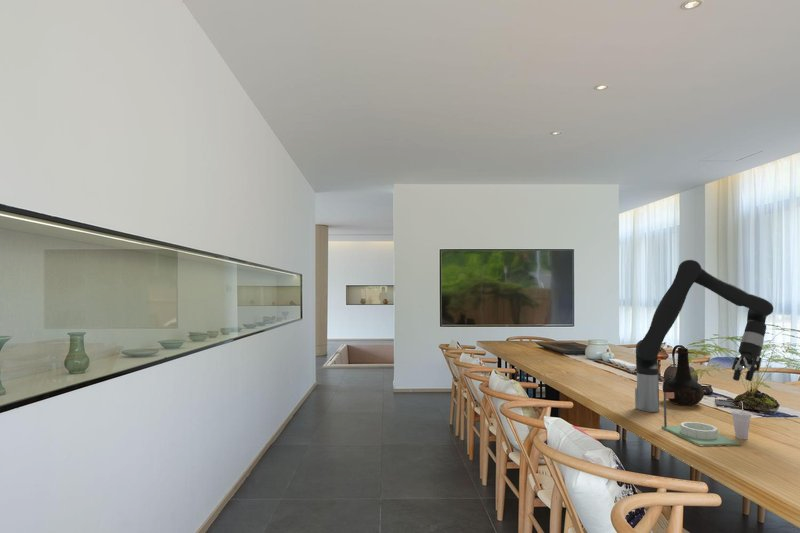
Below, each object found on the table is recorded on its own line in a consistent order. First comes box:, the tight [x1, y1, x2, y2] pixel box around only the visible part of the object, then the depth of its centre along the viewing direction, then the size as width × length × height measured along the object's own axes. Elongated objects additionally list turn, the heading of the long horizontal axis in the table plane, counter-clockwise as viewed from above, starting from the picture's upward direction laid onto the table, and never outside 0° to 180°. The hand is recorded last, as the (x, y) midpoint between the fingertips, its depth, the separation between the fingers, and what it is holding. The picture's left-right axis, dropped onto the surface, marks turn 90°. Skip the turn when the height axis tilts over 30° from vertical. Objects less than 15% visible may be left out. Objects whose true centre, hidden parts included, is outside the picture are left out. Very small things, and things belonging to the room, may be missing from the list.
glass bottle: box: [662, 347, 705, 407], centre depth 233 cm, size 18×18×28 cm
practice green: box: [661, 392, 742, 446], centre depth 182 cm, size 22×16×15 cm
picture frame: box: [714, 398, 740, 409], centre depth 228 cm, size 13×2×18 cm
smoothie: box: [730, 401, 752, 440], centre depth 180 cm, size 6×6×14 cm
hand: (741, 380), depth 196 cm, fingers open, 8 cm apart
